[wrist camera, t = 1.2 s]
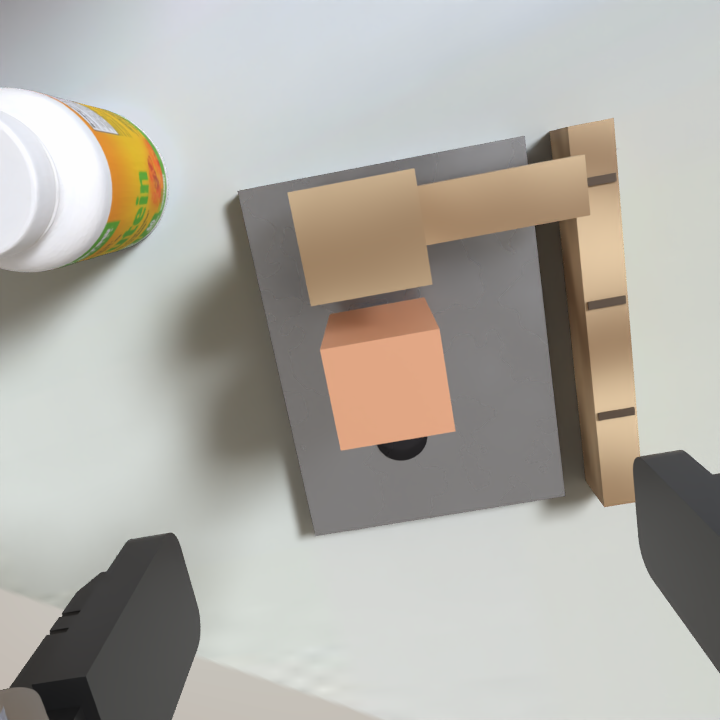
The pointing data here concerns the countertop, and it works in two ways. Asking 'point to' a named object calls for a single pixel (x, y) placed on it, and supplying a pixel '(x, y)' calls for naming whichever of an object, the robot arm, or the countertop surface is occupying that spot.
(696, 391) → the countertop surface
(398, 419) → the block
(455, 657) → the countertop surface
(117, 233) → the supplement bottle
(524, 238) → the bolt plate
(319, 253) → the gauge rule
